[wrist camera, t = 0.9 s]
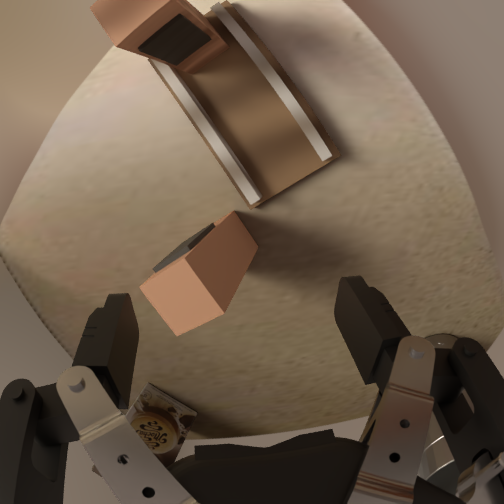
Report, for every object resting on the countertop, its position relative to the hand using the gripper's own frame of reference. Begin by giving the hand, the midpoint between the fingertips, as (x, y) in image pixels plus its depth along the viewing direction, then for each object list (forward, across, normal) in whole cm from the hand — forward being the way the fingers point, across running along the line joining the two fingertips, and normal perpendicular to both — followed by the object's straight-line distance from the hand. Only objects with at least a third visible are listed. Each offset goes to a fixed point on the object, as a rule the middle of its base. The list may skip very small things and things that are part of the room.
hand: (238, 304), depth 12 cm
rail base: (+22, +2, +6) cm, 23 cm away
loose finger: (+20, +1, -8) cm, 22 cm away
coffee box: (+20, -10, -36) cm, 42 cm away
